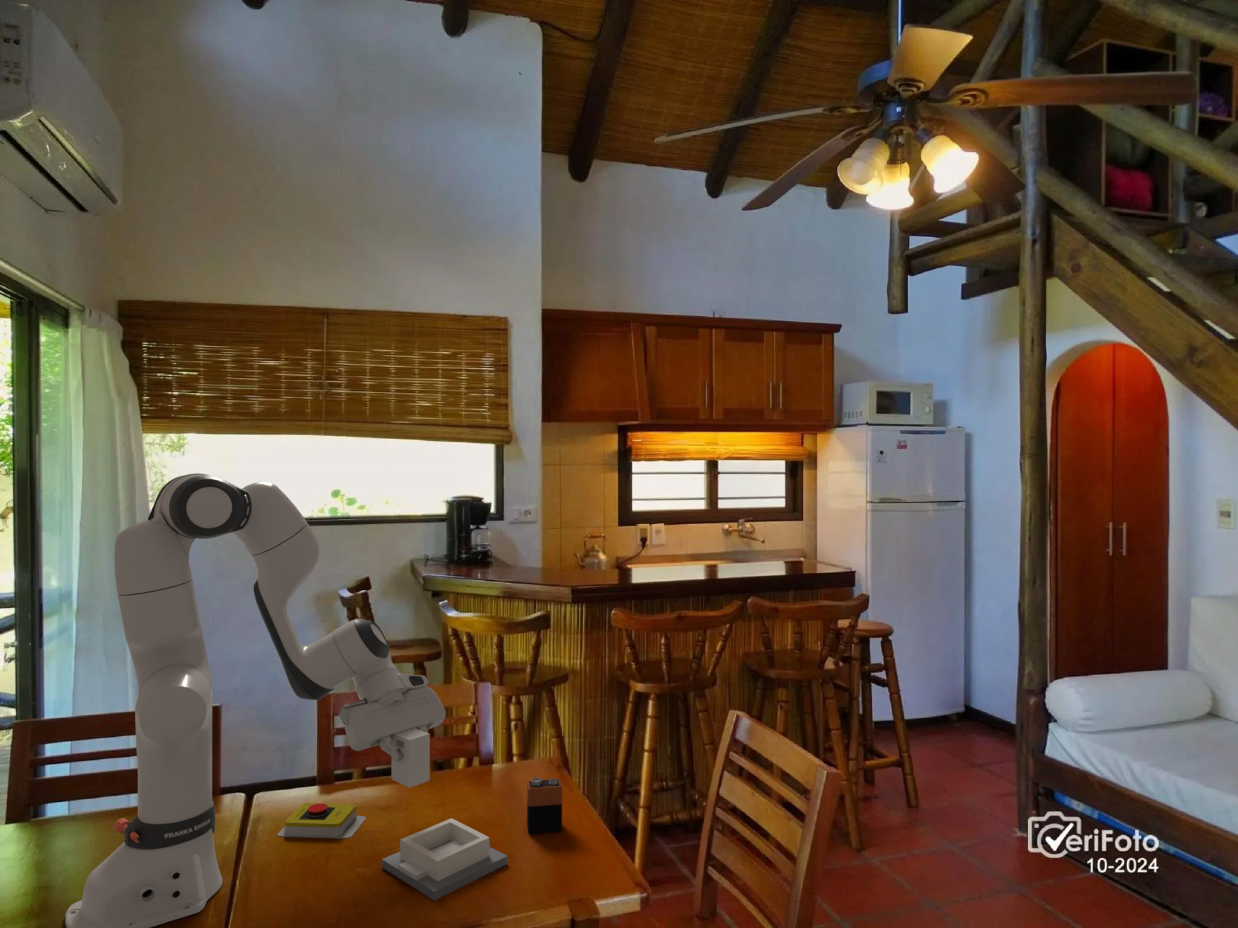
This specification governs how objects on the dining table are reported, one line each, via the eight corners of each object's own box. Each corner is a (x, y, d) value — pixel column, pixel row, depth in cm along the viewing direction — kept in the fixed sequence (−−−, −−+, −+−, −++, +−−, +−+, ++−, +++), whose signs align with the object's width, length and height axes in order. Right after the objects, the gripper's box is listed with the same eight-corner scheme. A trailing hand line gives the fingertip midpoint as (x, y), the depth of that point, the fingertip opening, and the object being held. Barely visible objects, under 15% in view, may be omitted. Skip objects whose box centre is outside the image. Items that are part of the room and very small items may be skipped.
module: (409, 787, 147) (409, 739, 147) (391, 779, 151) (391, 732, 151) (429, 780, 151) (429, 733, 151) (411, 771, 155) (411, 726, 155)
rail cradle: (434, 900, 132) (434, 870, 132) (381, 867, 143) (382, 839, 143) (507, 863, 144) (507, 836, 144) (453, 835, 155) (454, 810, 155)
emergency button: (296, 796, 164) (367, 798, 163) (296, 817, 164) (367, 819, 163) (275, 816, 154) (350, 818, 154) (275, 838, 154) (350, 840, 154)
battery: (526, 824, 160) (526, 775, 159) (559, 822, 161) (560, 773, 161) (528, 835, 155) (528, 784, 155) (562, 832, 157) (562, 782, 156)
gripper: (342, 697, 148) (370, 762, 141) (432, 674, 163) (462, 732, 157) (329, 715, 150) (357, 780, 144) (419, 691, 166) (448, 749, 160)
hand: (412, 755), depth 151 cm, fingers closed on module, 4 cm apart
